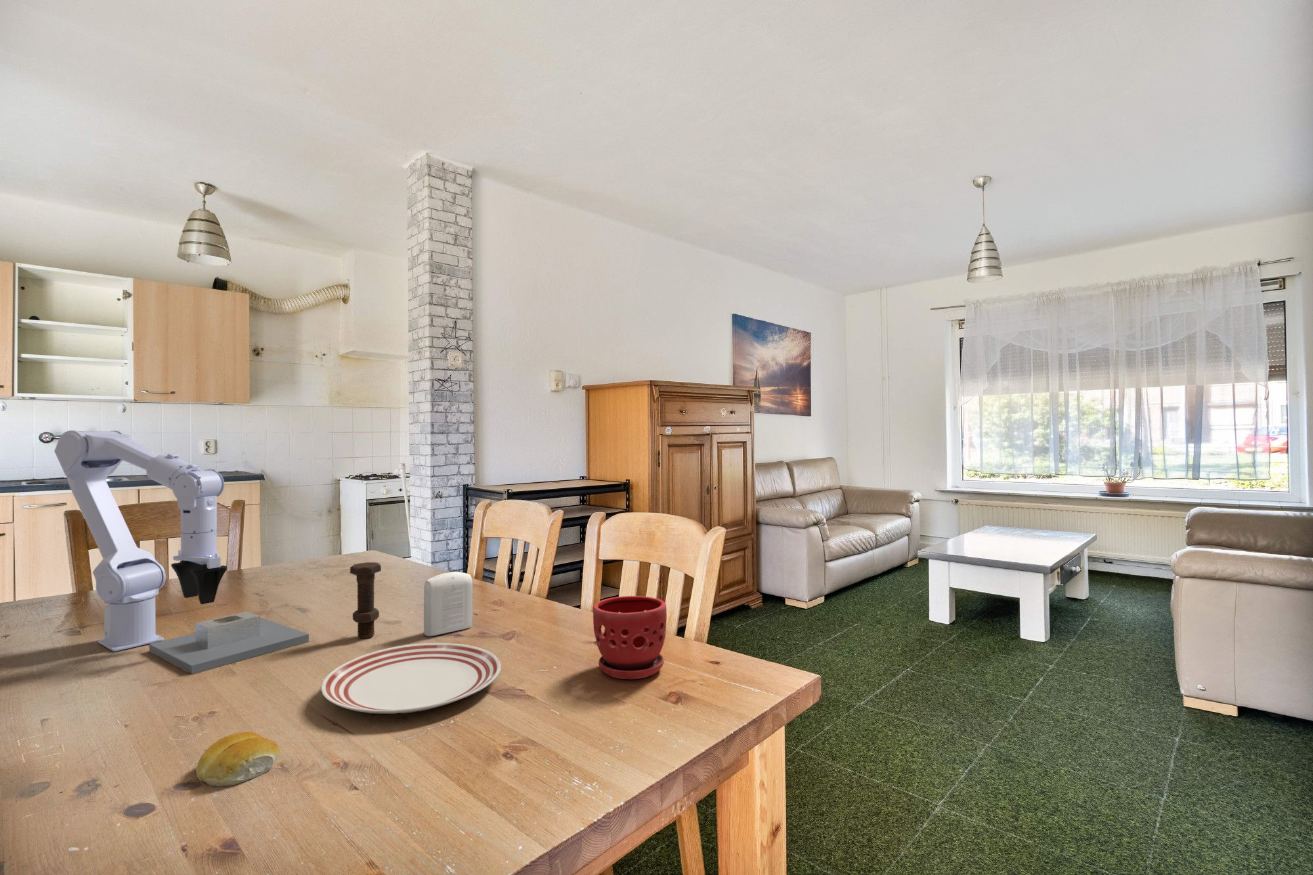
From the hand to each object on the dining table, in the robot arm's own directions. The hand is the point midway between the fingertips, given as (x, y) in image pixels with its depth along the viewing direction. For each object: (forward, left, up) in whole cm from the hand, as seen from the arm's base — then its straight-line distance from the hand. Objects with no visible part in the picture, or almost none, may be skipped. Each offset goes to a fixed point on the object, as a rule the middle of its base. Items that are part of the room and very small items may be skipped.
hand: (198, 599), depth 121 cm
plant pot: (+78, +37, -10) cm, 87 cm away
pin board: (+5, +4, -9) cm, 11 cm away
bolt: (+22, +21, -10) cm, 32 cm away
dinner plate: (+53, +12, -10) cm, 55 cm away
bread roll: (+56, -15, -10) cm, 59 cm away
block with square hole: (+5, +3, -8) cm, 10 cm away
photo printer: (+33, +33, -10) cm, 48 cm away
